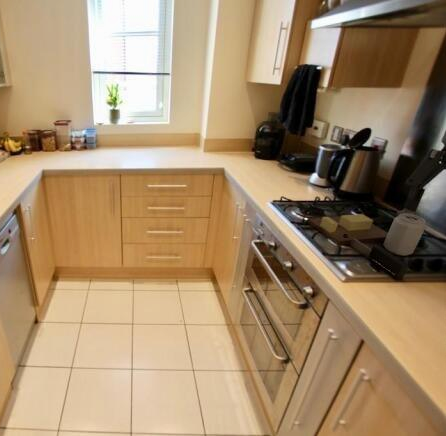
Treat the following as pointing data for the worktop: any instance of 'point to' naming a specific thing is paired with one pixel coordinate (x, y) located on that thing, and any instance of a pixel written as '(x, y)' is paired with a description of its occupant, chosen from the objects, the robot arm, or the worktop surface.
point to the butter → (355, 222)
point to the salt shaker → (405, 212)
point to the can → (404, 234)
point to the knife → (382, 259)
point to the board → (349, 232)
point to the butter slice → (328, 224)
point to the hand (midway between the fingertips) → (431, 207)
